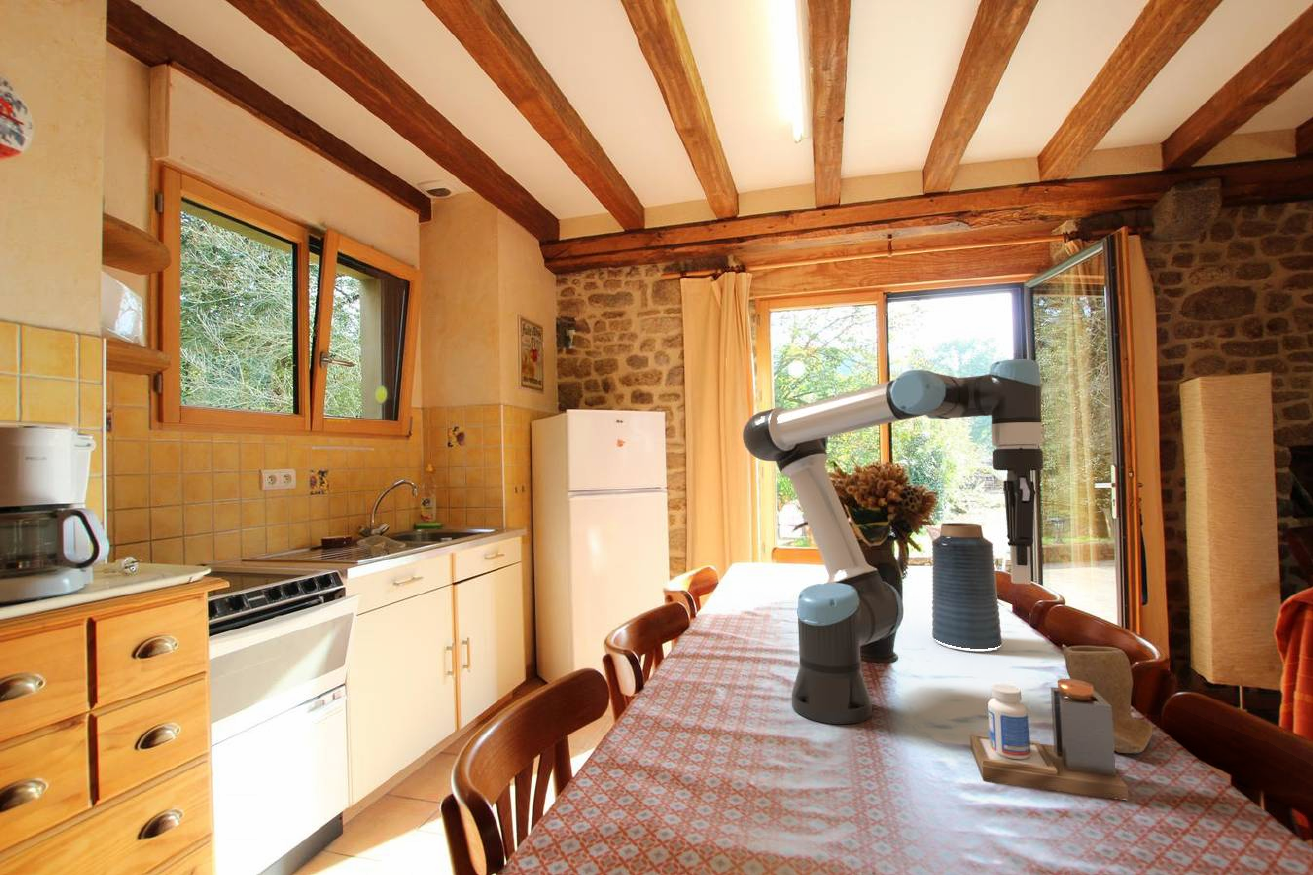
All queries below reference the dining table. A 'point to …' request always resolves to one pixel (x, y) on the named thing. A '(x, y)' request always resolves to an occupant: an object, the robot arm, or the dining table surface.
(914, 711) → the dining table surface
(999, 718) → the pill bottle
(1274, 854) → the dining table surface
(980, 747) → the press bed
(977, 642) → the vase
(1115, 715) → the tan suede boot
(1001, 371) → the robot arm
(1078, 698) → the orange capped plunger
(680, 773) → the dining table surface
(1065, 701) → the press frame
